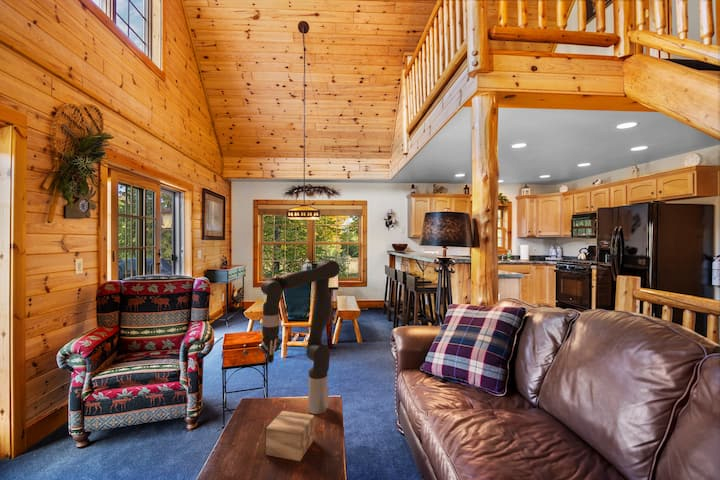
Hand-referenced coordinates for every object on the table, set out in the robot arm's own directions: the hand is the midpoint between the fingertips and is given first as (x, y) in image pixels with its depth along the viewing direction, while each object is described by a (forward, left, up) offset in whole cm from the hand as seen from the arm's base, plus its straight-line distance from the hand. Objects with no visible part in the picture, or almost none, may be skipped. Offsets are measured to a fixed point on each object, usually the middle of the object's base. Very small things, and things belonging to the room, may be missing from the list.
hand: (270, 362), depth 152 cm
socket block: (+6, +19, -29) cm, 35 cm away
